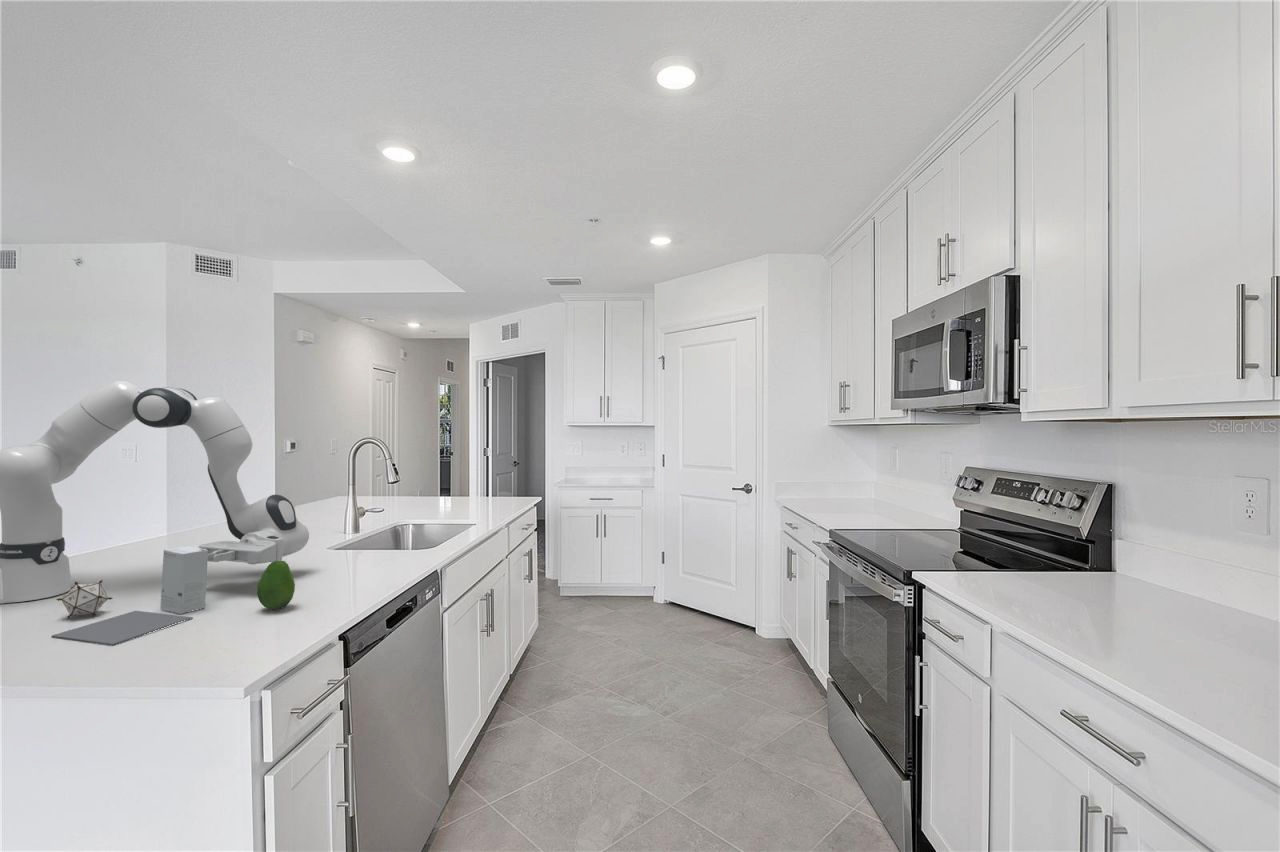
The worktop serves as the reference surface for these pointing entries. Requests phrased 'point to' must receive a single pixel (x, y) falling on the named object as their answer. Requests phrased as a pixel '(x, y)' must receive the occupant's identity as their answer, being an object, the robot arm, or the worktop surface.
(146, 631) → the mat
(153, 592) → the worktop surface
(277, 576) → the fruit
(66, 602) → the game die
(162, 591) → the skincare box
